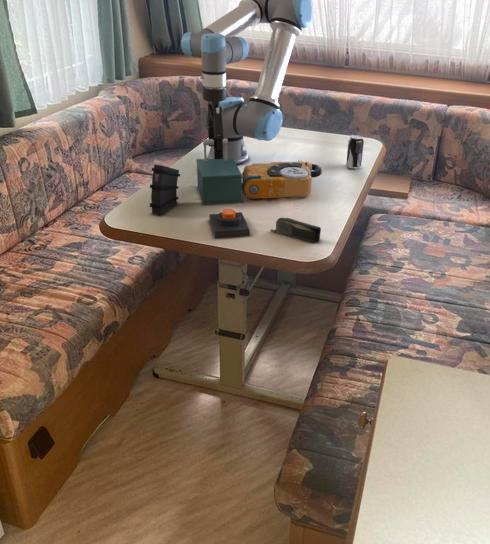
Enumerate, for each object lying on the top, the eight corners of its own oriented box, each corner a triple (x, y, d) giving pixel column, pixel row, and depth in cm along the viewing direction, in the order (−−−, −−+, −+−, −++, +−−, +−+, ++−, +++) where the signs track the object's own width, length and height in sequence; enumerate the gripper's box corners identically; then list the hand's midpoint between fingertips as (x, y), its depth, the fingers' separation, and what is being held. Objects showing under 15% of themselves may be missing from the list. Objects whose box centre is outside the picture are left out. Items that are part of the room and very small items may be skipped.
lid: (196, 161, 195) (195, 137, 191) (233, 159, 198) (232, 136, 194) (202, 179, 181) (201, 153, 177) (241, 176, 184) (241, 151, 180)
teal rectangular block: (197, 186, 199) (196, 162, 194) (233, 184, 202) (233, 160, 197) (203, 204, 186) (202, 179, 181) (241, 202, 189) (241, 177, 184)
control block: (209, 220, 176) (209, 208, 174) (241, 218, 178) (241, 206, 176) (215, 238, 166) (214, 225, 164) (249, 235, 168) (249, 223, 166)
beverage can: (348, 163, 225) (351, 133, 219) (362, 165, 224) (365, 135, 218) (344, 168, 221) (347, 137, 215) (359, 170, 219) (362, 139, 213)
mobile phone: (322, 225, 165) (274, 213, 170) (318, 229, 163) (270, 217, 167) (320, 240, 167) (273, 228, 172) (316, 245, 165) (269, 232, 170)
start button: (221, 214, 171) (220, 209, 170) (234, 213, 172) (234, 208, 171) (223, 220, 168) (223, 214, 167) (236, 219, 169) (236, 214, 168)
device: (236, 155, 204) (319, 154, 208) (236, 177, 208) (317, 175, 213) (242, 178, 185) (333, 176, 189) (242, 202, 189) (331, 199, 193)
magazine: (144, 213, 175) (152, 164, 173) (165, 215, 187) (173, 169, 186) (155, 215, 174) (163, 165, 172) (175, 217, 186) (183, 171, 185)
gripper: (197, 78, 191) (199, 141, 202) (207, 96, 171) (209, 165, 182) (220, 78, 193) (221, 140, 204) (232, 95, 172) (232, 164, 183)
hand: (215, 152), depth 193 cm, fingers open, 12 cm apart
